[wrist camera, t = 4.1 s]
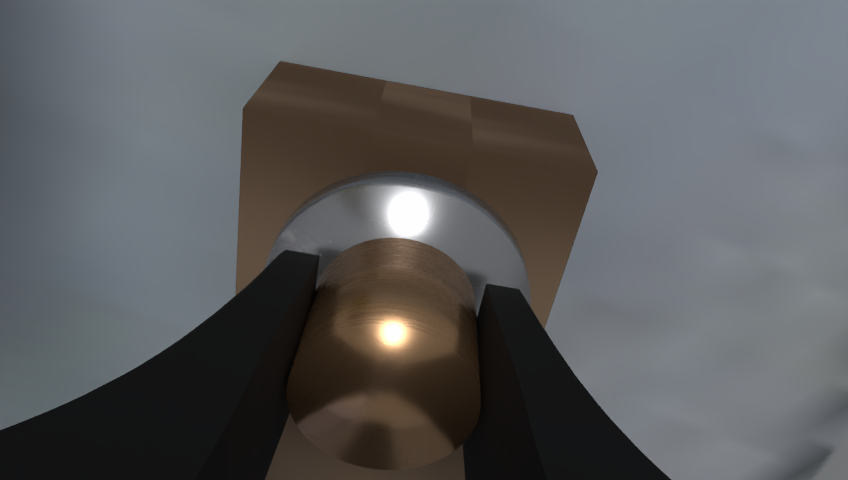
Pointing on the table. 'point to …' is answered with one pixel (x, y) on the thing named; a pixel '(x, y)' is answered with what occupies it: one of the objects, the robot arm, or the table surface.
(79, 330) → the table surface
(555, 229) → the stand
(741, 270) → the table surface
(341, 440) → the copper plunger
